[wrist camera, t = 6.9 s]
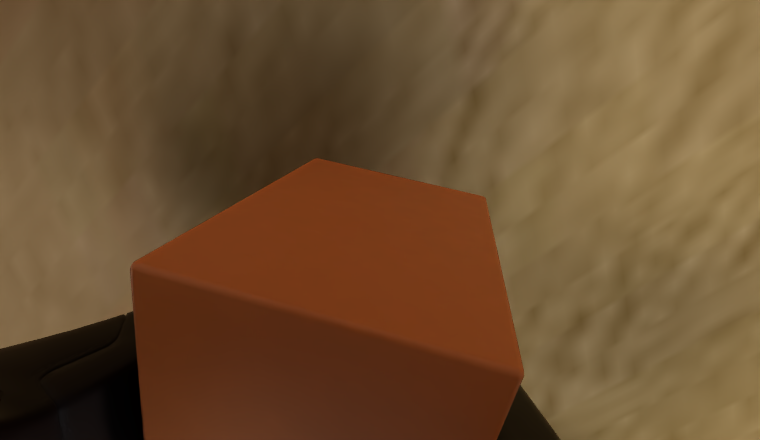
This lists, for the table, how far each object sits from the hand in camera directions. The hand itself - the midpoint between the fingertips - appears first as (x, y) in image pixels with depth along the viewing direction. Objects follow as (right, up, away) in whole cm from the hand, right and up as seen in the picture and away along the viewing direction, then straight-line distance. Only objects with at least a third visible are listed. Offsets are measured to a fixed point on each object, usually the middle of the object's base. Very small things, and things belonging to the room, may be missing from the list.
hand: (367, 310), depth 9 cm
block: (0, 0, +1) cm, 1 cm away
